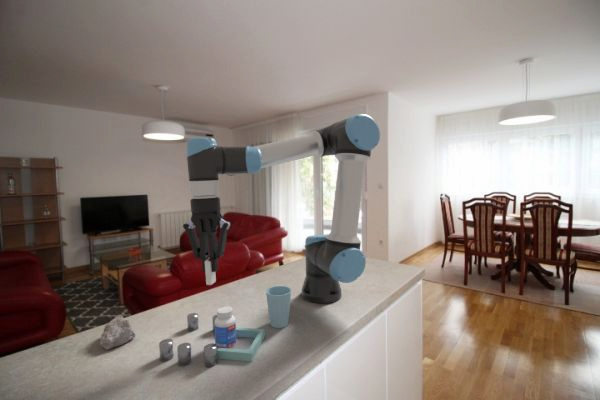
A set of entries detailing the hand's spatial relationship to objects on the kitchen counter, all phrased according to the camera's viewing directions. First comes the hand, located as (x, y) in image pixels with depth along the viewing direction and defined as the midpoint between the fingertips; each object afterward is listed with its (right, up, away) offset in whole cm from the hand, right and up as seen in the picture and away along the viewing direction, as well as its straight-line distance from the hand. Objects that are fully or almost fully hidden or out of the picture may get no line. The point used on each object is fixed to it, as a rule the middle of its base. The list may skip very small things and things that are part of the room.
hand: (211, 282), depth 76 cm
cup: (+18, -15, +9) cm, 25 cm away
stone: (-26, -17, +1) cm, 31 cm away
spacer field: (-3, -16, -1) cm, 16 cm away
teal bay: (+8, -16, -3) cm, 18 cm away
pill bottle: (+5, -16, -2) cm, 17 cm away
